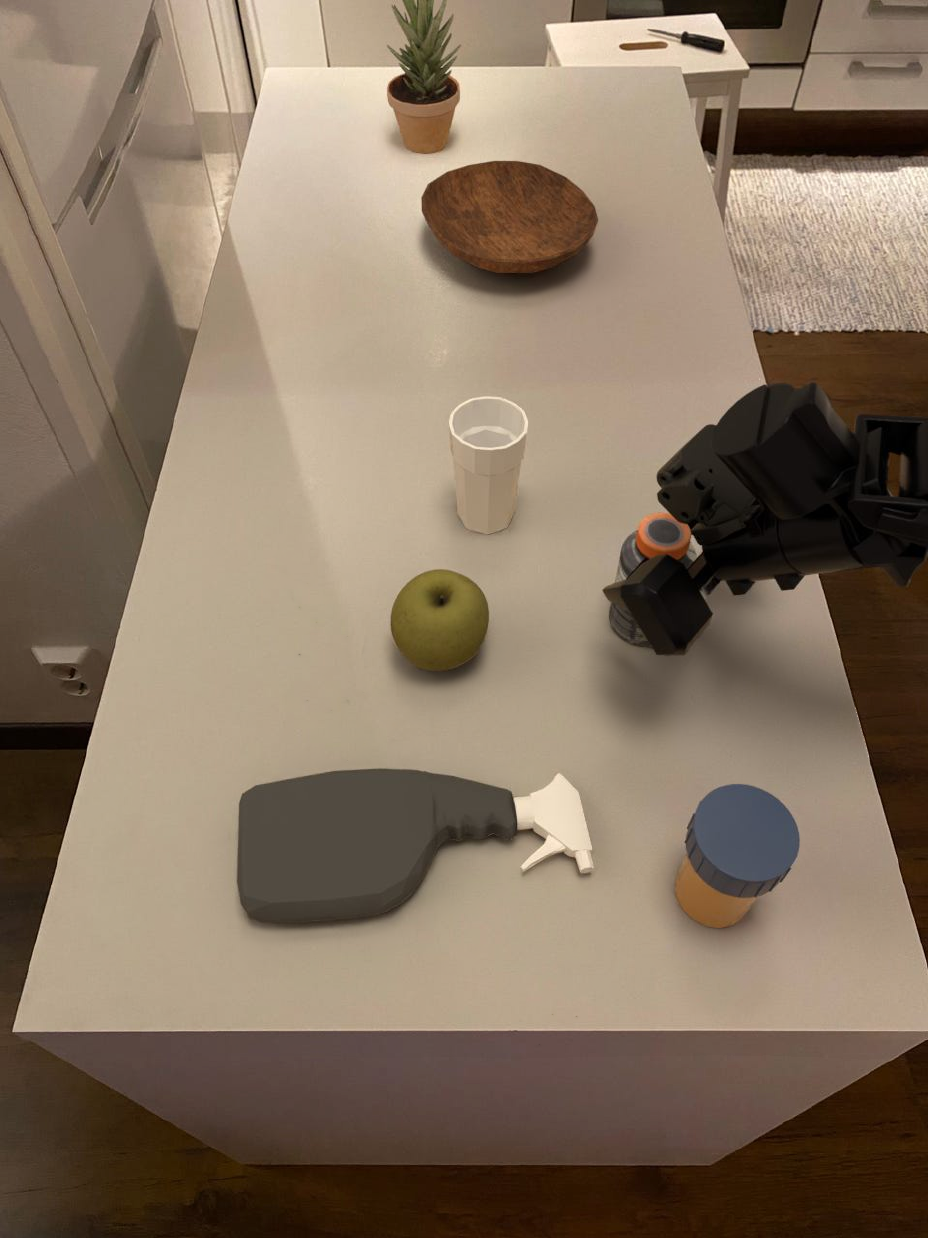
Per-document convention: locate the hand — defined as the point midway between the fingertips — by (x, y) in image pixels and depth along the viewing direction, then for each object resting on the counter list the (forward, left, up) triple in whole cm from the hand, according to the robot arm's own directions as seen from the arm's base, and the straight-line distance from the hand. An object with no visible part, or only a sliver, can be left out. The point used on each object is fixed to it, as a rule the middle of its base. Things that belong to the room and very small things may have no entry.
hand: (639, 558), depth 75 cm
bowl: (-11, -55, -7) cm, 56 cm away
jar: (+5, +24, -7) cm, 26 cm away
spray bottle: (+24, +14, -7) cm, 28 cm away
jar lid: (+5, +24, 0) cm, 25 cm away
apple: (+16, -2, -7) cm, 18 cm away
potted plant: (-10, -82, -7) cm, 83 cm away
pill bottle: (-1, +1, -7) cm, 7 cm away
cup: (+7, -15, -7) cm, 18 cm away
